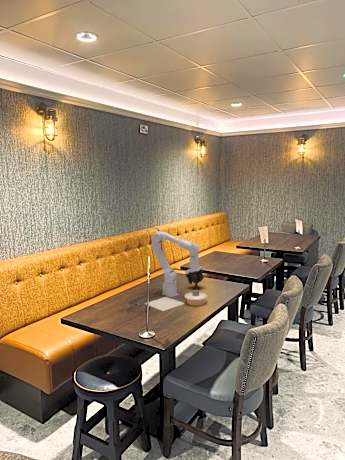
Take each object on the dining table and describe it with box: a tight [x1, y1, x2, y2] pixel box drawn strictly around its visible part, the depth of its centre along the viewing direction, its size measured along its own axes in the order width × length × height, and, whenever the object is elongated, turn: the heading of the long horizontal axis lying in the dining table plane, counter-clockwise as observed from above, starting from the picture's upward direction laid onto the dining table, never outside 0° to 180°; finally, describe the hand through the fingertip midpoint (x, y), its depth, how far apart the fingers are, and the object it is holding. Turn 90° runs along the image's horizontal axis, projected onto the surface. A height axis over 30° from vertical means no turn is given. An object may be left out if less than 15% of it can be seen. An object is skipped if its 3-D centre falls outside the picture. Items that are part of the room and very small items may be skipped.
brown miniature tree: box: [192, 272, 205, 290], centre depth 258 cm, size 11×11×15 cm
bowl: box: [186, 298, 206, 307], centre depth 228 cm, size 11×11×4 cm
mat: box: [144, 296, 186, 312], centre depth 228 cm, size 18×18×1 cm
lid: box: [184, 289, 208, 300], centre depth 228 cm, size 14×14×4 cm
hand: (194, 282), depth 239 cm, fingers open, 7 cm apart
